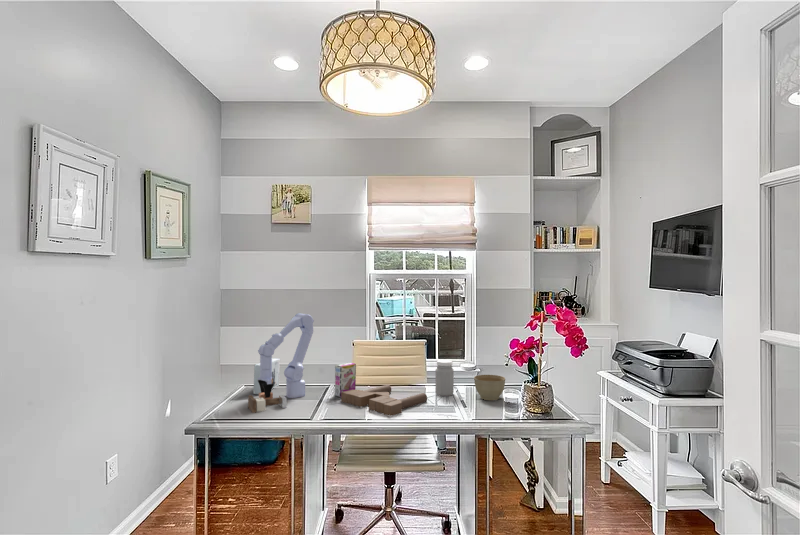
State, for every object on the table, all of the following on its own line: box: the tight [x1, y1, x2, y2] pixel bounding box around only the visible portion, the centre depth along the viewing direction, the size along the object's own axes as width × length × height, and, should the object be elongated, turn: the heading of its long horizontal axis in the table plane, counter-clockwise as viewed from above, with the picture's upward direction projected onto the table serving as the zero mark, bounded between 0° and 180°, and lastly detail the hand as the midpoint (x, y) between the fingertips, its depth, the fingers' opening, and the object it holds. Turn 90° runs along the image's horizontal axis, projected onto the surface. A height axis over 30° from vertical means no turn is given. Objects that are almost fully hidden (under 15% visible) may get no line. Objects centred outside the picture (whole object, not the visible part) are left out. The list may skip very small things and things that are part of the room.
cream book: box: [254, 397, 266, 413], centre depth 220 cm, size 4×6×5 cm, turn 30°
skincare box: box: [252, 357, 281, 395], centre depth 260 cm, size 21×6×16 cm, turn 168°
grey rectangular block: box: [278, 394, 288, 409], centre depth 225 cm, size 2×6×4 cm, turn 29°
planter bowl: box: [473, 374, 506, 401], centre depth 244 cm, size 16×16×11 cm
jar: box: [434, 359, 455, 397], centre depth 251 cm, size 10×10×18 cm
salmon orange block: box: [258, 391, 274, 400], centre depth 234 cm, size 4×6×5 cm, turn 120°
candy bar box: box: [334, 362, 357, 398], centre depth 250 cm, size 11×5×16 cm, turn 139°
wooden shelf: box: [247, 394, 279, 414], centre depth 223 cm, size 18×10×7 cm, turn 120°
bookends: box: [340, 384, 428, 417], centre depth 236 cm, size 35×6×29 cm
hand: (265, 395), depth 234 cm, fingers open, 7 cm apart
